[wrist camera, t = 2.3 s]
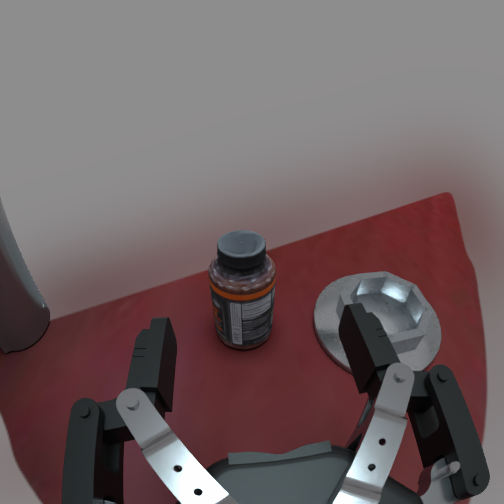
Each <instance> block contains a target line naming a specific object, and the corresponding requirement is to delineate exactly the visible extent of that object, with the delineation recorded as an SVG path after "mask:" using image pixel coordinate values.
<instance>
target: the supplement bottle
mask: <svg viewBox="0 0 504 504" xmlns="http://www.w3.org/2000/svg"><path fill="white" fill-rule="evenodd" d="M217 248H218V249H217V251H218V252H217V256H216V257H215V258H214V259H213V260H212V262H211V264H210V266H209V271H208V272H209V282H210V290H211V298H212V304H213V313H214V319H215V327H216V330H217V334H218V336H219V338H220V339H221V340H222V341H223V342H224V343H225V344H226V345H228V346H230V347H233V348H237V349H251V348H255V347H257V346H259V345H261V344H262V343H264V342H265V341H266V340H267V338H268V337H269V335H270V332H271V328H272V319H273V306H274V293H275V278H276V270H275V265H274V263H273V261H272V259H271V258H270V257H269V256H268V255H267V254H266V243H265V239H264V238H263V237H262V236H261V235H259V234H257V233H255V232H251V231H247V230H238V231H232V232H229V233H226V234H224V235H223V236H222V237H221V238H220V239H219V240H218V243H217Z"/></svg>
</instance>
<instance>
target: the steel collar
mask: <svg viewBox="0 0 504 504" xmlns="http://www.w3.org/2000/svg"><path fill="white" fill-rule="evenodd" d="M354 303H362V304H363V306H364V308H365V310H366V312H367V313H369V312H372V313H373V314H374V315H375V316H376V317H377V318H378V319H379V320H380V322H381V324H382V326H383V327H384V330H385V331H386V333H387V337H389V339H390V341H391V343H392V346H393V348H394V350H395V352H396V354H397V356H398V358H399V360H400V362H401V363H404V364H406V365H408V366H409V367H410V368H411V369H412V370H413V371H423V370H425V369H426V368H427V366H428V365H429V364H430V363H431V362H432V360H433V359H434V357H435V356H436V354H437V352H438V350H439V347H440V343H441V328H440V324H439V320H438V318H437V315H436V313H435V312H434V310H433V308H432V307H431V305H430V304H429V303H428V302H427V301H426V299H425V298H424V296H423V295H422V293H421V292H420V290H419V289H418V287H417V286H416V285H415V284H413V283H411V282H408V281H406V280H404V279H402V278H399V277H397V276H395V275H393V274H390V273H388V272H385V271H384V272H374V273H363V274H356V275H350V276H346V277H343V278H340V279H338V280H336V281H334V282H332V283H331V284H330V285H328V286H327V287H326V288H325V289H324V290H323V291H322V293H321V294H320V296H319V298H318V299H317V302H316V306H315V310H314V316H313V326H314V331H315V334H316V337H317V339H318V342H319V343H320V345H321V347H322V349H323V350H324V351H325V353H326V354H327V355H328V356H329V357H330V358H331V359H332V360H333V361H334V362H335V363H336V364H337V365H339V366H340V367H341V368H343V369H344V370H346V371H347V372H349V373H351V374H352V371H351V368H350V365H349V363H348V360H347V357H346V354H345V351H344V349H343V346H342V343H341V341H340V338H339V333H338V327H339V323H340V320H341V316H342V313H343V310H344V306H345V305H347V304H354Z"/></svg>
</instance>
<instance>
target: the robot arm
mask: <svg viewBox="0 0 504 504" xmlns="http://www.w3.org/2000/svg"><path fill="white" fill-rule="evenodd" d="M49 320H50V311H49V308H48V307H47V305H46V303H45V301H44V299H43V297H42V295H41V294H40V292H39V290H38V288H37V286H36V284H35V282H34V280H33V278H32V276H31V274H30V272H29V270H28V268H27V266H26V264H25V261H24V259H23V257H22V255H21V252H20V250H19V248H18V245H17V243H16V241H15V238H14V236H13V233H12V230H11V228H10V225H9V222H8V220H7V217H6V214H5V211H4V208H3V205H2V202H1V199H0V348H1V349H2V350H3V351H4V353H5V354H6V353H8V352H9V351H18V350H23V349H25V348H28V347H29V346H31V345H32V344H34V343H35V342H36V341H37V340H38V339H39V338H40V337H41V336H42V335H43V333H44V332H45V330H46V329H47V326H48V324H49ZM338 333H339V338H340V341H341V343H342V346H343V349H344V351H345V354H346V357H347V360H348V363H349V365H350V368H351V371H352V374H353V377H354V379H355V382H356V385H357V388H358V391H359V394H361V393H365V392H367V393H368V396H369V397H368V399H367V401H366V404H365V406H364V409H363V411H362V414H361V416H360V418H359V421H358V423H357V425H356V428H355V430H354V432H353V433H352V435H351V437H350V438H349V440H348V442H347V443H346V445H345V447H340V446H334V445H330V441H325V442H320V443H314V444H309V445H305V446H302V447H300V448H297V449H295V450H292V451H290V452H287V453H284V454H281V455H277V454H268V453H260V452H242V453H228V458H225V459H222V460H220V461H217V462H216V463H214V464H212V465H211V466H209V467H208V468H207V469H206V470H205V469H204V468H203V467H202V466H201V465H200V464H199V462H198V461H197V460H196V459H195V458H194V457H193V456H192V454H191V453H190V452H189V451H188V450H187V449H186V447H185V446H184V445H183V444H182V443H181V441H180V440H179V439H178V438H177V436H176V435H175V434H174V433H173V431H172V430H171V429H170V427H169V426H168V425H167V424H166V422H165V421H164V419H165V412H172V404H173V390H174V377H175V365H176V355H177V342H176V337H175V334H174V331H173V328H172V325H171V321H170V319H169V318H168V317H165V318H152V320H151V325H150V329H142V331H141V332H140V333H139V335H138V336H137V338H136V341H135V346H134V350H133V355H132V360H131V364H130V369H129V375H128V380H127V385H126V388H125V390H124V391H123V392H121V393H120V395H119V396H118V397H117V398H115V399H113V400H109V401H104V402H100V403H96V402H95V401H94V400H92V399H90V398H82V399H79V400H78V401H76V402H75V403H74V405H73V407H72V409H71V415H70V420H69V427H68V434H67V441H66V449H65V459H64V470H63V485H62V504H124V501H123V456H124V442H125V441H130V440H135V439H136V441H137V442H138V444H139V445H140V447H141V451H142V453H143V455H144V456H145V458H146V459H147V461H148V462H149V463H150V465H151V466H152V467H153V469H154V470H155V472H156V473H157V474H158V475H159V477H160V478H161V479H162V481H163V482H164V483H165V484H166V486H167V487H168V488H169V489H170V491H171V492H172V493H173V494H174V495H175V497H176V498H177V499H178V502H177V503H176V504H452V503H455V502H459V501H461V500H464V499H467V498H470V497H473V496H475V495H478V494H480V493H481V492H483V491H484V490H485V489H486V487H487V485H488V483H489V479H490V475H489V470H488V466H487V463H486V459H485V456H484V453H483V449H482V446H481V443H480V440H479V437H478V434H477V431H476V429H475V426H474V423H473V420H472V418H471V415H470V412H469V410H468V407H467V405H466V402H465V400H464V397H463V395H462V393H461V390H460V388H459V386H458V383H457V381H456V379H455V377H454V375H453V373H452V371H451V370H450V369H449V368H448V367H447V366H445V365H436V366H434V367H433V368H432V369H431V370H430V371H413V370H412V369H411V368H410V367H409V366H408V365H406V364H404V363H401V362H400V360H399V358H398V356H397V354H396V352H395V350H394V348H393V346H392V343H391V341H390V339H389V337H387V333H386V331H385V330H384V327H383V326H382V324H381V322H380V320H379V319H378V318H377V317H376V316H375V315H374V314H373V313H372V312H369V313H367V312H366V310H365V308H364V306H363V304H362V303H354V304H347V305H345V306H344V310H343V313H342V316H341V320H340V323H339V327H338ZM406 412H408V415H409V418H410V422H411V425H412V428H413V431H414V435H415V438H416V442H417V445H418V449H419V452H420V456H421V460H422V464H423V468H424V469H423V471H422V472H421V474H420V476H419V481H418V485H419V489H418V491H417V493H415V492H414V491H412V490H410V489H409V488H407V487H405V486H404V485H402V484H401V483H399V482H398V481H396V480H394V479H393V478H391V477H390V476H388V474H389V472H390V470H391V467H392V465H393V462H394V459H395V457H396V454H397V451H398V448H399V446H400V443H401V440H402V437H403V434H404V431H405V428H406V424H407V419H406V418H405V413H406Z"/></svg>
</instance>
